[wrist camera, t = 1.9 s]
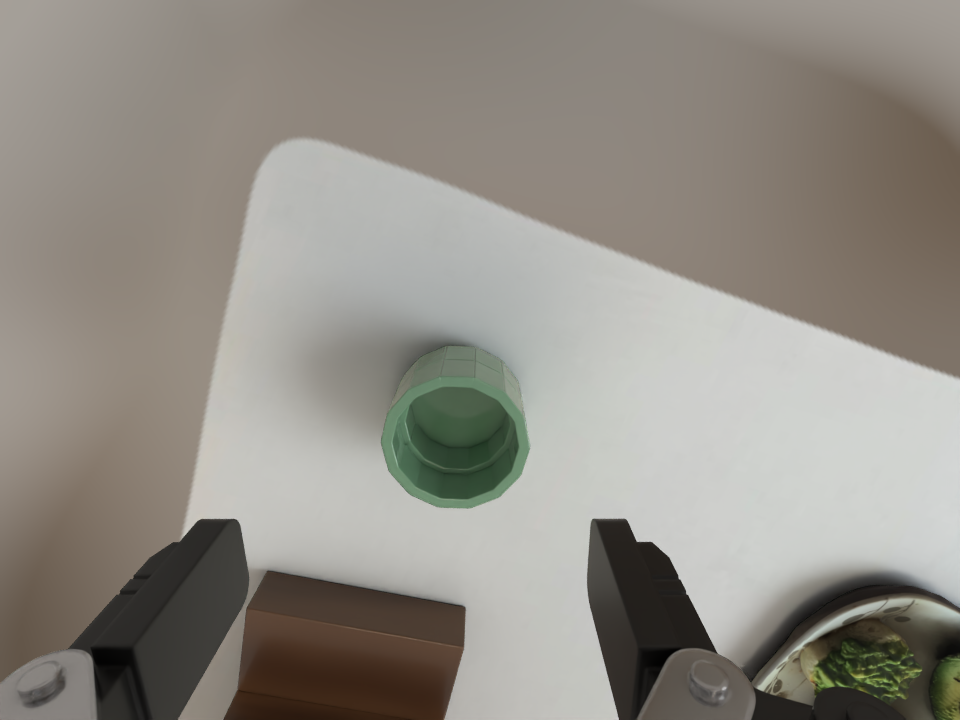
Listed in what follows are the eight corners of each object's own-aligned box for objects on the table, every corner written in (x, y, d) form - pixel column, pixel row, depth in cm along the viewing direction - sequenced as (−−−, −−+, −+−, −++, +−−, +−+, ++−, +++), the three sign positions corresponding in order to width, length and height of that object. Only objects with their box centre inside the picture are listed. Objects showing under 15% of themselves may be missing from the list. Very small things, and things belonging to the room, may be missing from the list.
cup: (373, 408, 28) (352, 453, 23) (452, 316, 27) (446, 345, 22) (466, 477, 29) (463, 533, 25) (546, 394, 28) (560, 437, 23)
